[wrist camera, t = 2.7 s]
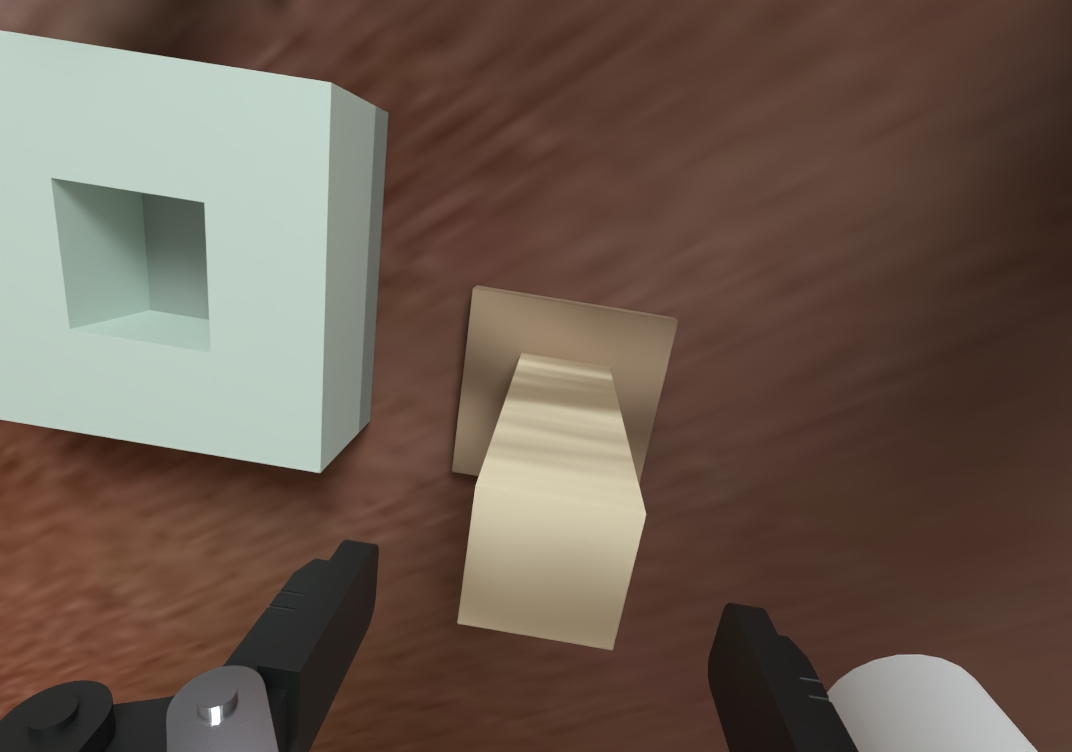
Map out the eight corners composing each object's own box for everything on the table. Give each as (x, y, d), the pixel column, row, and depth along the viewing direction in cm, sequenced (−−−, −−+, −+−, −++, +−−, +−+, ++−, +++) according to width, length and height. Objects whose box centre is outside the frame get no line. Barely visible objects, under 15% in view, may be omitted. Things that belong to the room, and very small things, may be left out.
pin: (521, 352, 24) (475, 485, 12) (609, 367, 24) (646, 514, 12) (509, 433, 25) (457, 623, 13) (593, 447, 25) (612, 649, 13)
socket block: (60, 61, 22) (-98, 15, 17) (388, 112, 22) (331, 82, 17) (95, 374, 26) (-22, 415, 21) (370, 420, 26) (320, 473, 21)
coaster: (476, 285, 24) (472, 288, 23) (673, 317, 24) (678, 321, 23) (456, 462, 27) (452, 471, 26) (632, 491, 26) (634, 502, 26)
